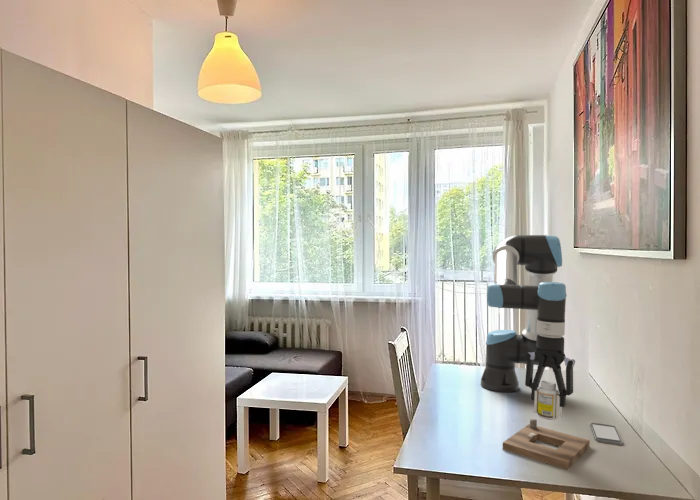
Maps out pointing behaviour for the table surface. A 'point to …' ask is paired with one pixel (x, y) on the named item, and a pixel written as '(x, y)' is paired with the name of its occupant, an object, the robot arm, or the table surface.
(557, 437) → the wooden slotted board
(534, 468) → the table surface
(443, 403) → the table surface
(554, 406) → the supplement bottle
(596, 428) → the smartphone
